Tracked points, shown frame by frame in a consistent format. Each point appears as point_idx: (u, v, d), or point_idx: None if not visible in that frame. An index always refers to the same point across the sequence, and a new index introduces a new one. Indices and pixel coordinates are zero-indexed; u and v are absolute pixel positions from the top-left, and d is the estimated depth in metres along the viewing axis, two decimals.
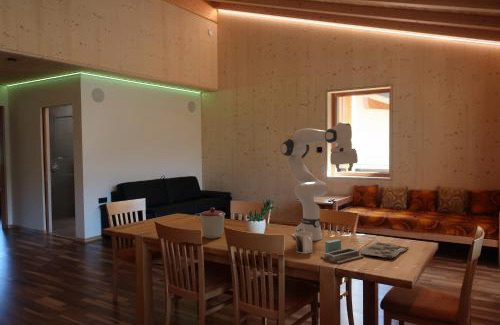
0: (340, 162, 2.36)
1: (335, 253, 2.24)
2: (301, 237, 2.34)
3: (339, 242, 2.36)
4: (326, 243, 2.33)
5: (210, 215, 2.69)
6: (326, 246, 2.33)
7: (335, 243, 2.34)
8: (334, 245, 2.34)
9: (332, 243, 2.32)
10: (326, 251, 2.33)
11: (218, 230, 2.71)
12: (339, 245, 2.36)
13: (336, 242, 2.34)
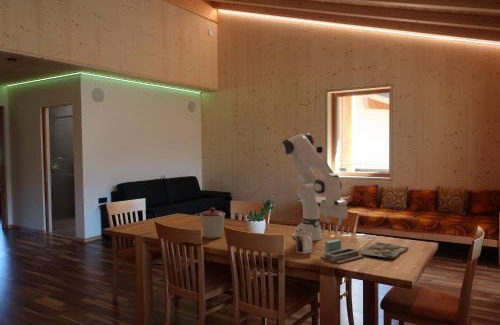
0: None
1: (335, 253, 2.24)
2: (301, 237, 2.34)
3: (339, 242, 2.36)
4: (326, 243, 2.33)
5: (210, 215, 2.69)
6: (326, 246, 2.33)
7: (335, 243, 2.34)
8: (334, 245, 2.34)
9: (332, 243, 2.32)
10: (326, 251, 2.33)
11: (218, 230, 2.71)
12: (339, 245, 2.36)
13: (336, 242, 2.34)
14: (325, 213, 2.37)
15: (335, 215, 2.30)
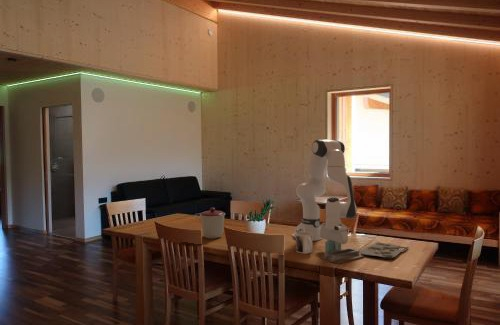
0: None
1: (335, 253, 2.24)
2: (301, 237, 2.34)
3: None
4: (326, 243, 2.33)
5: (210, 215, 2.69)
6: (326, 246, 2.33)
7: None
8: (334, 245, 2.33)
9: (332, 243, 2.32)
10: (326, 251, 2.33)
11: (218, 230, 2.71)
12: (339, 245, 2.36)
13: None
14: (325, 237, 2.38)
15: (335, 240, 2.31)
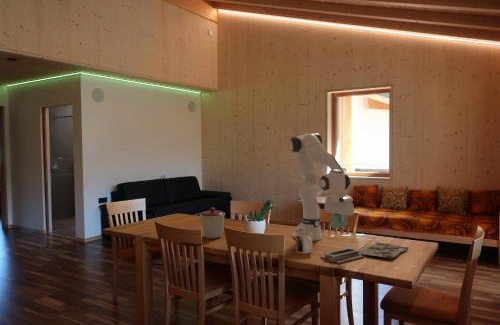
0: None
1: (335, 253, 2.24)
2: (301, 237, 2.34)
3: (345, 215, 2.26)
4: (331, 217, 2.23)
5: (210, 215, 2.69)
6: (332, 220, 2.23)
7: None
8: (340, 218, 2.24)
9: (338, 216, 2.23)
10: (332, 225, 2.23)
11: (218, 230, 2.71)
12: (345, 219, 2.26)
13: None
14: (330, 211, 2.28)
15: (341, 212, 2.21)
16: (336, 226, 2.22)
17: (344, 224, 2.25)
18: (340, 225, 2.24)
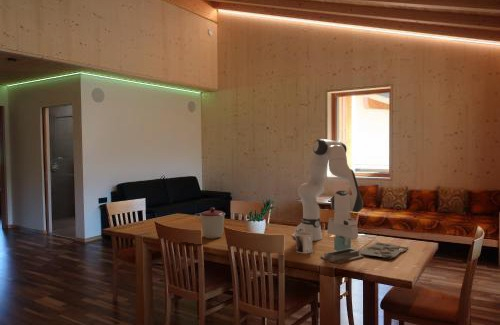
0: None
1: (335, 253, 2.24)
2: (301, 237, 2.34)
3: None
4: (335, 239, 2.21)
5: (210, 215, 2.69)
6: (335, 242, 2.21)
7: (344, 239, 2.22)
8: (344, 240, 2.22)
9: (341, 239, 2.21)
10: (335, 247, 2.21)
11: (218, 230, 2.71)
12: (349, 241, 2.24)
13: None
14: (334, 232, 2.26)
15: (344, 235, 2.19)
16: (339, 248, 2.20)
17: (347, 246, 2.24)
18: (343, 247, 2.22)
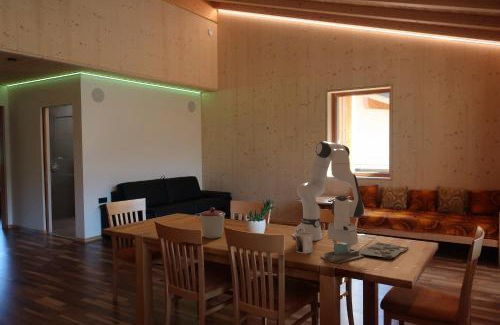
0: None
1: None
2: (301, 237, 2.34)
3: None
4: (335, 246, 2.21)
5: (210, 215, 2.69)
6: (335, 249, 2.21)
7: (344, 246, 2.23)
8: (343, 248, 2.22)
9: (341, 246, 2.21)
10: None
11: (218, 230, 2.71)
12: None
13: (345, 245, 2.23)
14: (333, 237, 2.26)
15: (344, 240, 2.19)
16: None
17: None
18: None
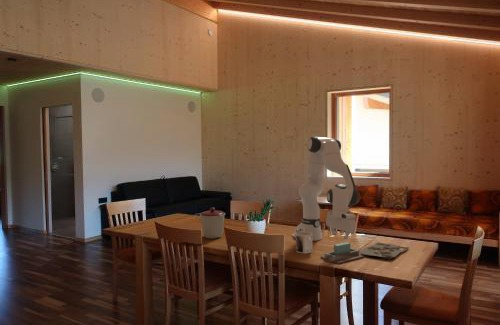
0: None
1: None
2: (301, 237, 2.34)
3: (348, 245, 2.24)
4: (335, 246, 2.21)
5: (210, 215, 2.69)
6: (335, 249, 2.21)
7: (344, 246, 2.23)
8: (343, 248, 2.22)
9: (341, 246, 2.21)
10: None
11: (218, 230, 2.71)
12: (348, 248, 2.24)
13: (345, 245, 2.23)
14: (332, 225, 2.26)
15: (342, 228, 2.19)
16: None
17: None
18: None
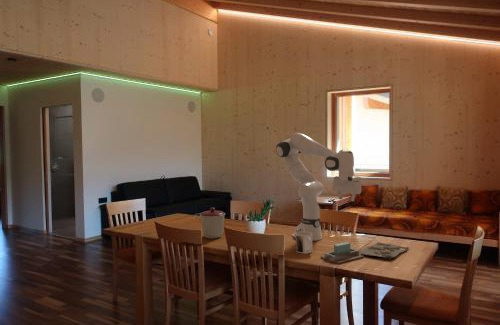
0: None
1: None
2: (301, 237, 2.34)
3: (348, 245, 2.24)
4: (335, 246, 2.21)
5: (210, 215, 2.69)
6: (335, 249, 2.21)
7: (344, 246, 2.23)
8: (343, 248, 2.22)
9: (341, 246, 2.21)
10: None
11: (218, 230, 2.71)
12: (348, 248, 2.24)
13: (345, 245, 2.23)
14: (338, 189, 2.38)
15: (348, 191, 2.31)
16: None
17: None
18: None
